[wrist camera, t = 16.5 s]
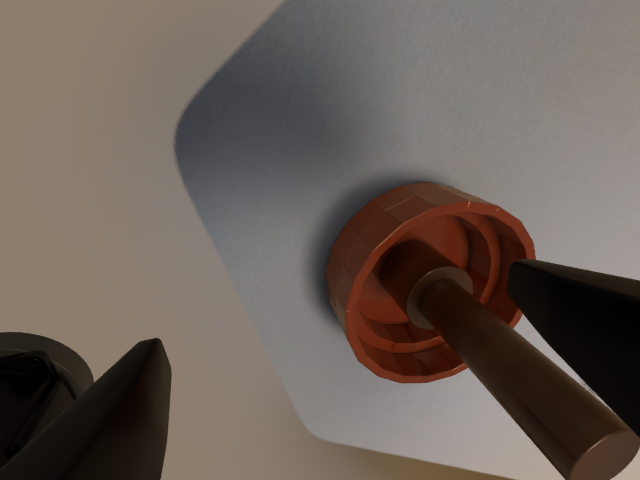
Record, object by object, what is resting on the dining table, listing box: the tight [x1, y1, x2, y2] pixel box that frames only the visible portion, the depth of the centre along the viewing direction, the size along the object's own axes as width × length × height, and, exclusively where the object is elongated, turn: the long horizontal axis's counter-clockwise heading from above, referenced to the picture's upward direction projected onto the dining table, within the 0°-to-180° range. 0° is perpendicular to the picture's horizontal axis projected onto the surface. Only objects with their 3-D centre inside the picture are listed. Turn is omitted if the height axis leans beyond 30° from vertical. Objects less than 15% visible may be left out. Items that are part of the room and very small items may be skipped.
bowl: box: [326, 182, 536, 383], centre depth 22 cm, size 12×12×5 cm
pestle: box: [380, 240, 640, 480], centre depth 17 cm, size 4×4×14 cm
